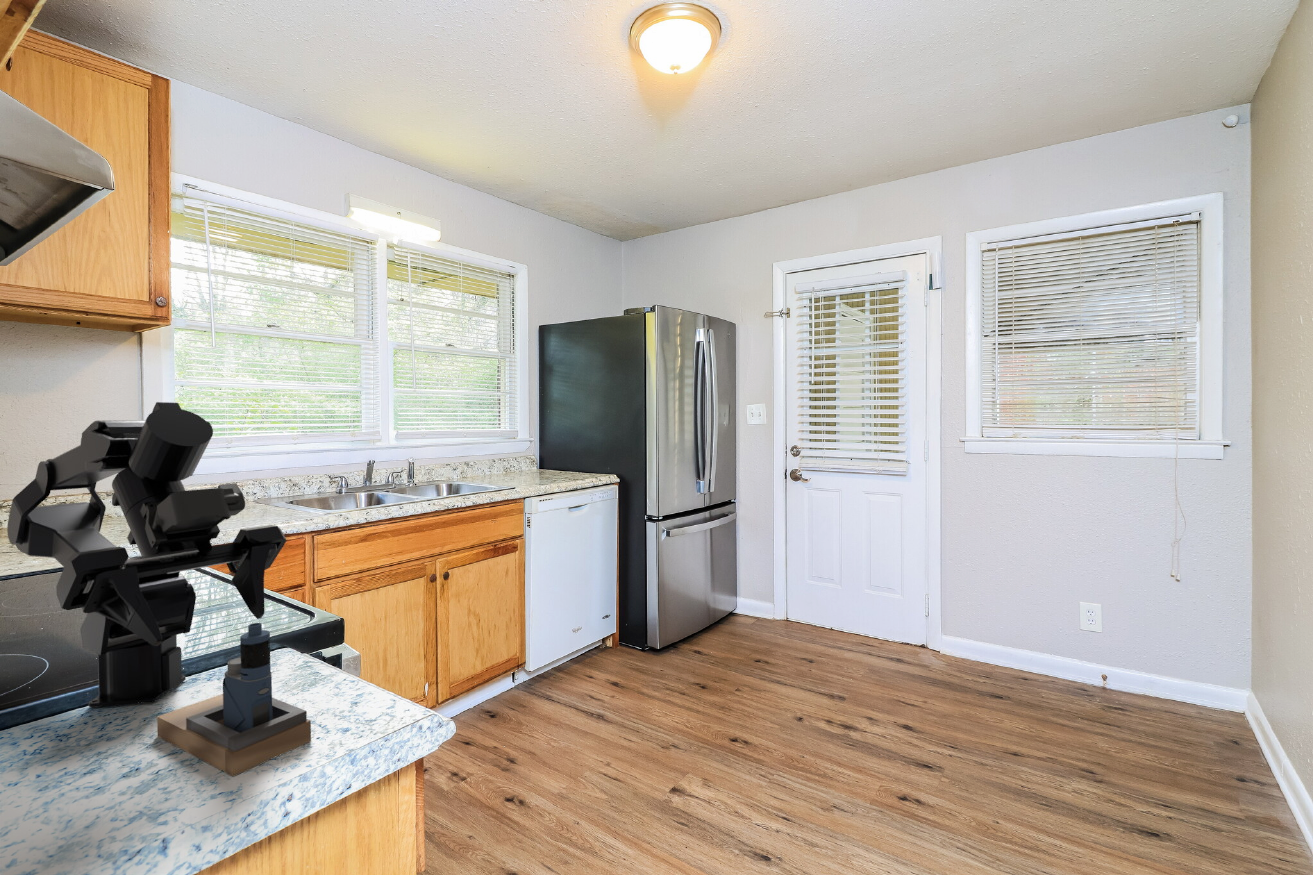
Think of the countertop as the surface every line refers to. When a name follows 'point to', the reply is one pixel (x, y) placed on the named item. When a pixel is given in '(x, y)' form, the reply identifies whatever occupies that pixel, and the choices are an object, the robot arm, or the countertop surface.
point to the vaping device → (249, 682)
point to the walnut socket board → (233, 734)
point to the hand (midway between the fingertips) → (213, 628)
